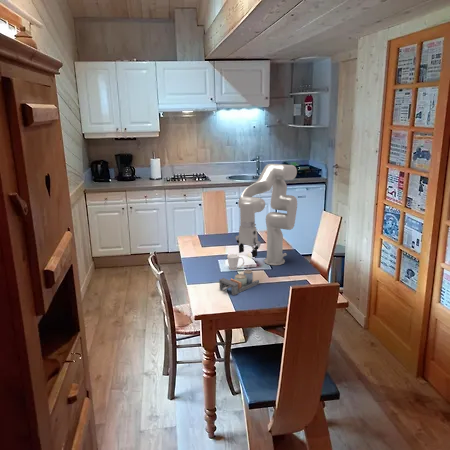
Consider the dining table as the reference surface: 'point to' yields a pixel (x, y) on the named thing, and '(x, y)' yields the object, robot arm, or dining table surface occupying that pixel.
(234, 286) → the lane
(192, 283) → the dining table surface
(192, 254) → the dining table surface
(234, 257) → the cup
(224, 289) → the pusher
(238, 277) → the jar resting
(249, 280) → the jar
